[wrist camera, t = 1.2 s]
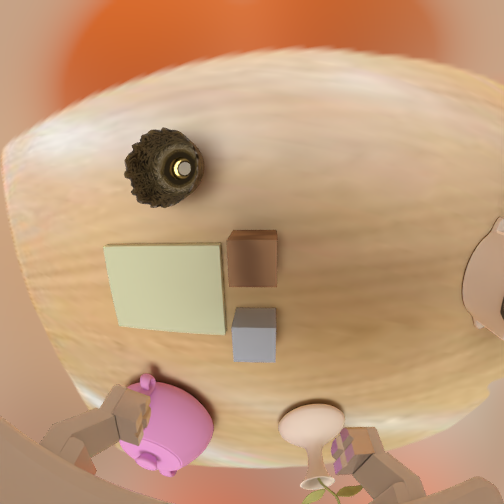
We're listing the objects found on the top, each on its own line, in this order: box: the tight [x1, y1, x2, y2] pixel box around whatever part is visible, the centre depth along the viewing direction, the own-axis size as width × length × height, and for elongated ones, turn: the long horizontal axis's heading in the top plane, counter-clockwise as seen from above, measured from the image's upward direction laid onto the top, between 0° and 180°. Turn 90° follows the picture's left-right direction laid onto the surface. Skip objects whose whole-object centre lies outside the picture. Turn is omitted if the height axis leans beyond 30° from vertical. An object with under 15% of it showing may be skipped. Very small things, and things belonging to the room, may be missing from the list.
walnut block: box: [227, 230, 277, 287], centre depth 30 cm, size 5×5×5 cm
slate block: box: [231, 308, 276, 362], centre depth 33 cm, size 5×5×5 cm
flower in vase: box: [278, 404, 363, 504], centre depth 28 cm, size 13×11×25 cm
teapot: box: [119, 374, 214, 477], centre depth 35 cm, size 22×22×14 cm
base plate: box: [103, 243, 227, 335], centre depth 34 cm, size 16×12×1 cm
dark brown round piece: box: [124, 128, 204, 208], centre depth 27 cm, size 8×7×8 cm
